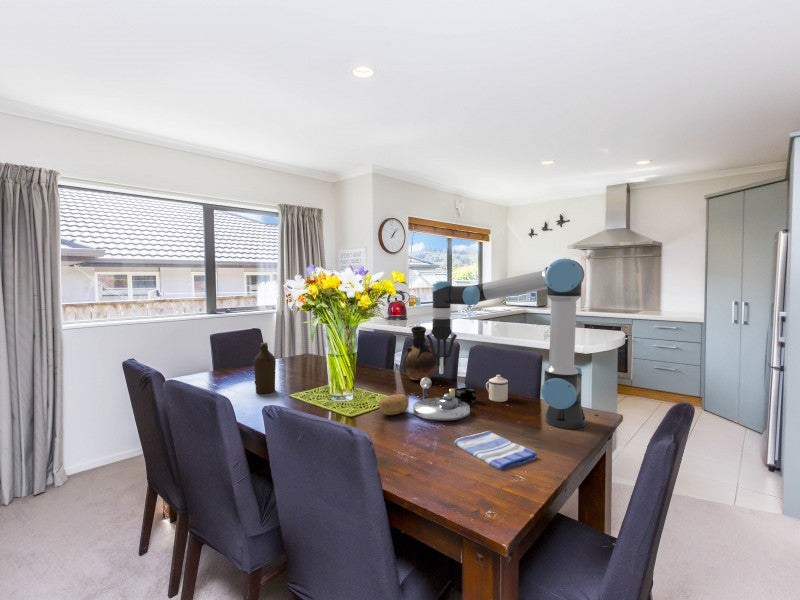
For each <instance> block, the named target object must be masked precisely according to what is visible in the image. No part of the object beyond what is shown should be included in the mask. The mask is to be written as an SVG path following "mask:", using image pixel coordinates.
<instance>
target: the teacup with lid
mask: <svg viewBox="0 0 800 600" xmlns="http://www.w3.org/2000/svg"><path fill="white" fill-rule="evenodd" d="M485 388H486V390H487V392H488V399H489V400H490V401H492V402H498V403H502V402H503V403H504V402H506V401H508V398H509V397H508V396H509V395H508V393H509V392H508V391H509V380H508V379H506V378H504V377H502V375H501V374H496V375H495V376H494V377H492V378H489V379H488V381H487V382H486V383H485Z"/></svg>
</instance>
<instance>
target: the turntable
mask: <svg viewBox="0 0 800 600" xmlns="http://www.w3.org/2000/svg"><path fill="white" fill-rule="evenodd" d="M455 389H456V388H449V394H453V397H454V398H455ZM439 398H440V397H432V398H427V399H423V398H422V399H420V400H418V401H417V400H416V402H414V403H413V405H412V410H413V414H414V415H416V416H417V417H419V418H423V419H425V420H430V421H442V422H443V421H448V422H449V421H457V420H461V419H464V418H466V417H468V416H469V415H470V414H471V411H470V409H471V408H470V407H471V406H470V404H467V403H465V402H463V401H460V400H458V407H457V408H456V409H442V408H440V407H439Z"/></svg>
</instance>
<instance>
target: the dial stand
mask: <svg viewBox="0 0 800 600" xmlns="http://www.w3.org/2000/svg"><path fill="white" fill-rule="evenodd" d="M419 381H420V383H419V384H420V386H421V388H422V400H423V399H428V389H429V388H431V386H432V380H431V378H427V377H424V378H422V379H421V380H419Z"/></svg>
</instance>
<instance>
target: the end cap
mask: <svg viewBox="0 0 800 600" xmlns="http://www.w3.org/2000/svg"><path fill="white" fill-rule="evenodd" d="M454 389H455V398H457V399H458V400H460V401H463V402H465V403H467V404H468V405H473V404H476V402H477V401H476V400H477V396H475V395H477V390H475V389H473V387H472V385H471V386H465V387H458V388H454ZM473 394H475V395H473Z"/></svg>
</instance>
